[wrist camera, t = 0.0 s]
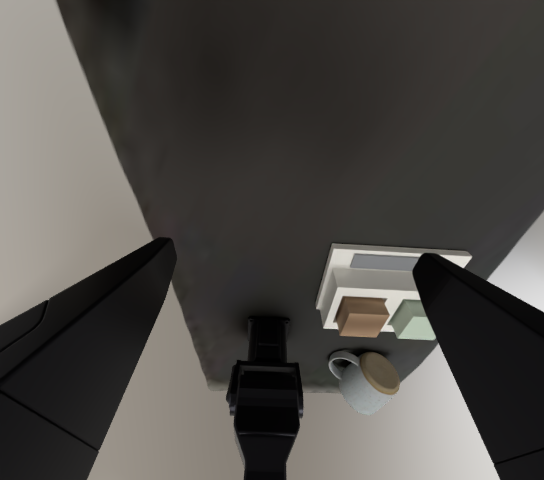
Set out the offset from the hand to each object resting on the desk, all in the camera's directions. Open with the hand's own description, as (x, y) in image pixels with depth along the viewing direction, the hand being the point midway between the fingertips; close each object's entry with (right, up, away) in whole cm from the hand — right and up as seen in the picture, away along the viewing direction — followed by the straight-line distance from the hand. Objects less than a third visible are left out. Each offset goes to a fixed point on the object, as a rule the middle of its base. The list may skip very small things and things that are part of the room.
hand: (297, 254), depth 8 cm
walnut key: (+10, -7, +20) cm, 23 cm away
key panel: (+14, -5, +22) cm, 26 cm away
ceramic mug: (+15, -22, +35) cm, 44 cm away
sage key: (+17, -8, +20) cm, 27 cm away
